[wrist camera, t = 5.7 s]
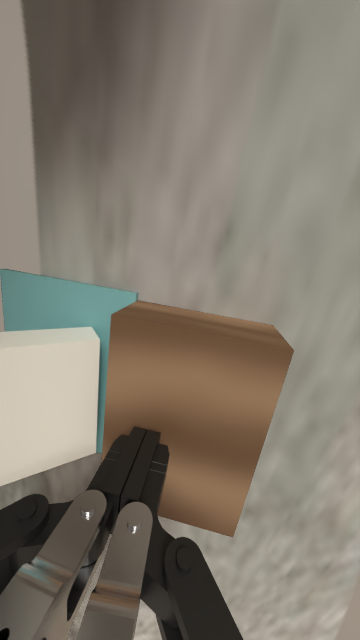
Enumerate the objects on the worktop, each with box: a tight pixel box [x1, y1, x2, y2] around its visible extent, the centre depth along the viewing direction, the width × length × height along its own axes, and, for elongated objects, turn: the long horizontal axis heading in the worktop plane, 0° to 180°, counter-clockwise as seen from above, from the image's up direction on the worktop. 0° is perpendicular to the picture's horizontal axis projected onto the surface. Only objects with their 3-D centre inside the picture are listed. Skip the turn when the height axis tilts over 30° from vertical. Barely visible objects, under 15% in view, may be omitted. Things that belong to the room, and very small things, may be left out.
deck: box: [101, 300, 294, 537], centre depth 15 cm, size 13×9×4 cm
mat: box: [0, 269, 138, 454], centre depth 17 cm, size 14×10×1 cm
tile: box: [0, 327, 100, 486], centre depth 14 cm, size 9×6×2 cm
